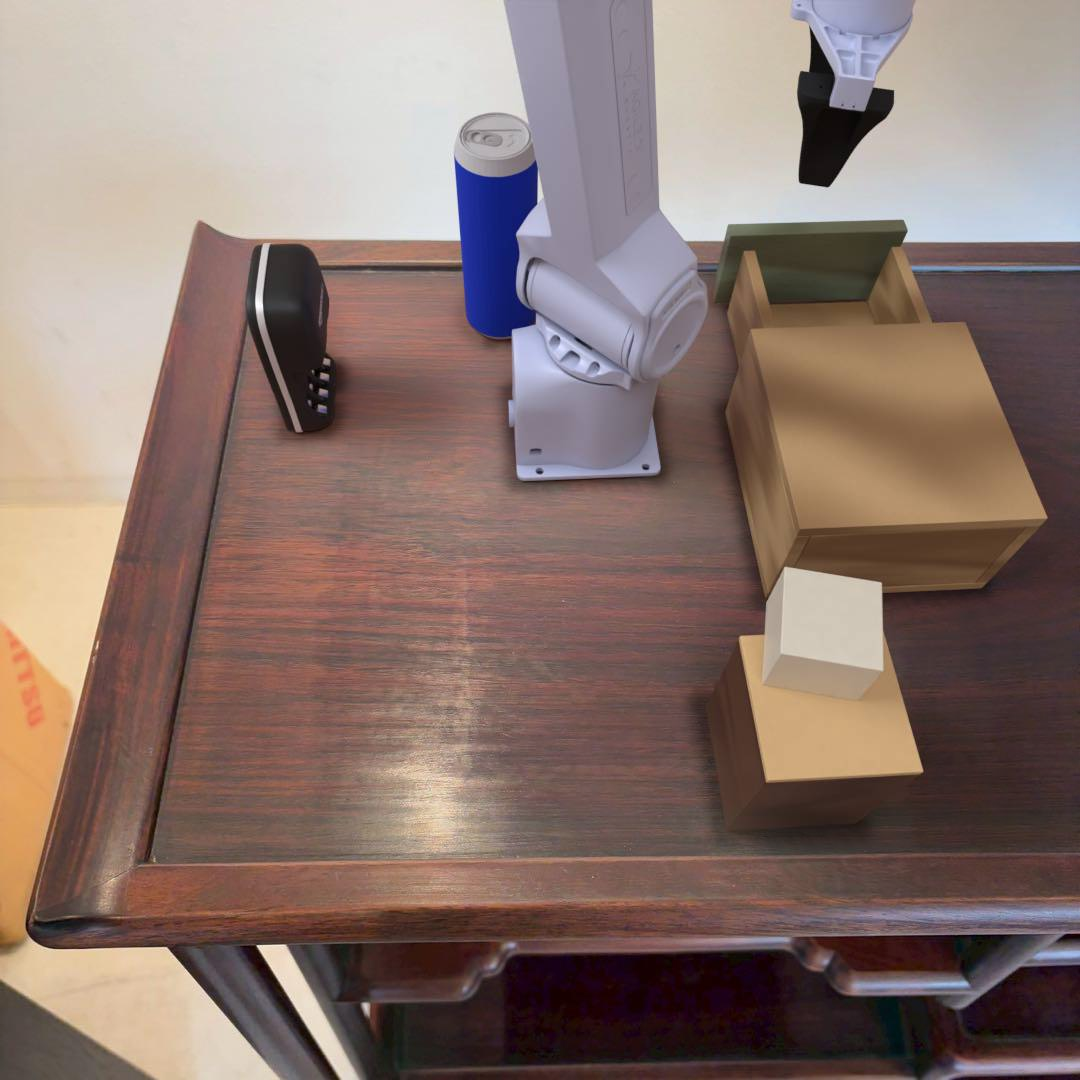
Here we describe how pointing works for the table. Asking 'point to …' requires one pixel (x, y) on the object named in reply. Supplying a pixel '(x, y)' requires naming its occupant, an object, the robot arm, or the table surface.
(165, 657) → the table surface
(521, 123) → the beverage can
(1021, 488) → the cabinet
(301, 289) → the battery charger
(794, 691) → the coaster
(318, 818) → the table surface
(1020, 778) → the table surface
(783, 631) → the block
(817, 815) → the stand
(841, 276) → the drawer
